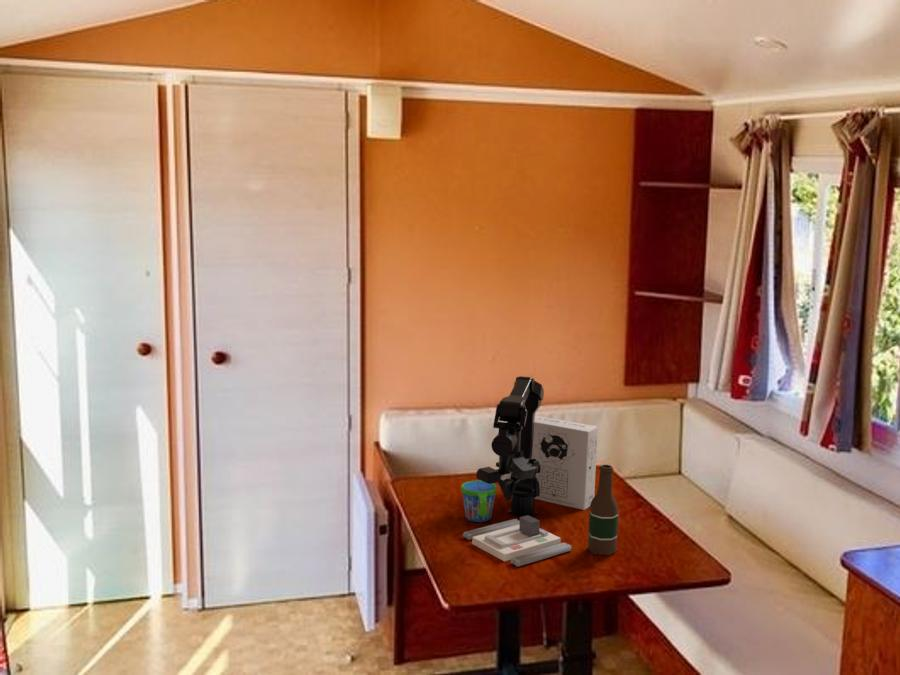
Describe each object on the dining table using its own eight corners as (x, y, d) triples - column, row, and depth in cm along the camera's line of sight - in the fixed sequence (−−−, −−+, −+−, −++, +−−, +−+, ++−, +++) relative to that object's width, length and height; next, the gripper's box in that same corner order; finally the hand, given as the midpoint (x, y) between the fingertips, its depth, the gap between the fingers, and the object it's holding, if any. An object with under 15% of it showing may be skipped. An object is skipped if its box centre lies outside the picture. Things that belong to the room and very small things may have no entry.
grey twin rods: (515, 523, 263) (515, 517, 263) (573, 551, 244) (573, 545, 244) (461, 537, 252) (461, 531, 252) (517, 568, 233) (517, 561, 232)
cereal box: (594, 503, 281) (598, 426, 277) (584, 510, 275) (588, 431, 271) (532, 489, 293) (535, 415, 288) (521, 496, 286) (524, 420, 282)
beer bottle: (598, 558, 240) (603, 472, 236) (581, 547, 247) (586, 463, 243) (622, 553, 244) (627, 468, 239) (604, 542, 250) (609, 460, 246)
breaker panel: (527, 528, 259) (527, 518, 259) (560, 544, 248) (560, 534, 248) (472, 543, 248) (472, 533, 247) (504, 561, 237) (504, 550, 236)
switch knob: (527, 528, 253) (527, 515, 252) (539, 534, 249) (539, 520, 248) (519, 530, 251) (519, 517, 251) (531, 536, 247) (531, 523, 247)
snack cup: (459, 508, 274) (460, 476, 272) (493, 509, 274) (494, 477, 273) (461, 528, 259) (462, 494, 257) (498, 528, 259) (499, 495, 257)
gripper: (502, 459, 233) (500, 516, 236) (555, 448, 244) (552, 502, 247) (475, 448, 242) (474, 503, 245) (528, 438, 253) (526, 491, 256)
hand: (508, 500), depth 248 cm, fingers closed
